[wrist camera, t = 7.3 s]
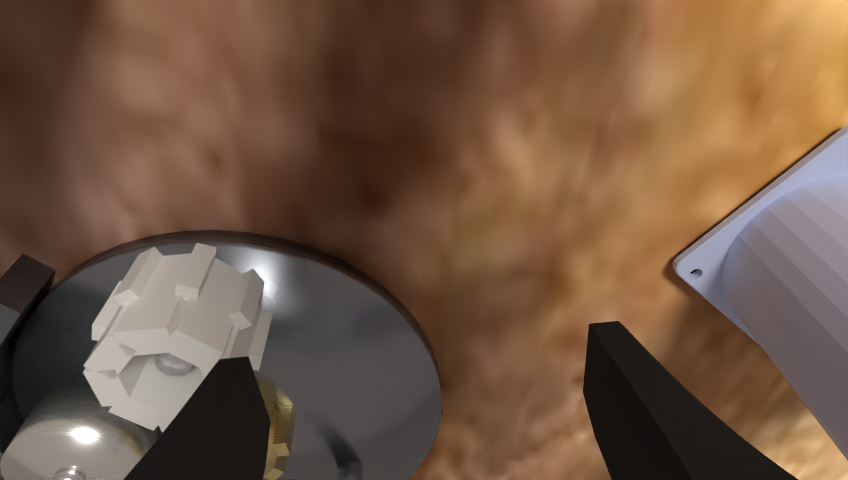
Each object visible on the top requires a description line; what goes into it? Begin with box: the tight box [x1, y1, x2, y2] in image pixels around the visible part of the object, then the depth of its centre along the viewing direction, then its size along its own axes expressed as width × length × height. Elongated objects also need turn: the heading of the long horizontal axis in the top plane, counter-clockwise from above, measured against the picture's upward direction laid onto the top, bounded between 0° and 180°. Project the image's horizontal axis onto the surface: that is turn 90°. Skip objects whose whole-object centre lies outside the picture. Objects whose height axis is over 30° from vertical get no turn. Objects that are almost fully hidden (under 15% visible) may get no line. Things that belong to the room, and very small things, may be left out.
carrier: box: [0, 230, 442, 480], centre depth 25 cm, size 19×20×4 cm
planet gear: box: [83, 243, 273, 432], centre depth 21 cm, size 5×5×4 cm
